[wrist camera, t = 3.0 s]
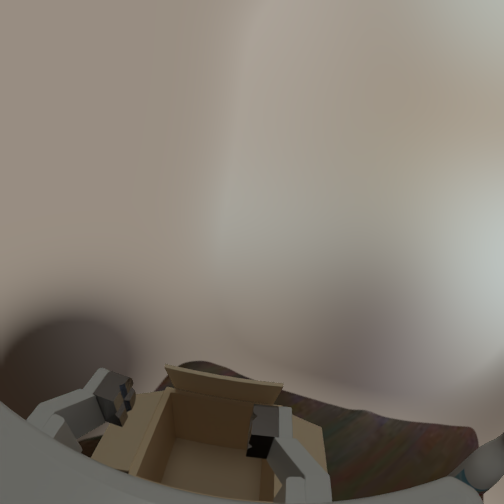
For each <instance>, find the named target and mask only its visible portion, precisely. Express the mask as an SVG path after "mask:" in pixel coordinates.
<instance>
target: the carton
mask: <svg viewBox="0 0 504 504" xmlns="http://www.w3.org/2000/svg"><path fill="white" fill-rule="evenodd" d="M254 404H260V405H270V406H280V407H282V405H271V404H261V403H253V402H245V401H238V400H231V399H225V398H219V397H213V396H208V395H202V394H197V393H192V392H188V391H183V390H179V389H175V388H170V387H166V389H165V391H158V392H151V393H142V394H136V400H135V404H134V406H133V408H132V410H130V411H128V412H127V415H128V418H127V420H126V422H125V424H124V426H123V427H120V426H117V425H114V424H112V423H110V424H109V426H108V428H107V429H106V431H105V433H104V435H103V437H102V438H101V440H100V442H99V444H98V446H97V447H96V449H95V451H94V453H93V455H92V457H91V459H94V460H96V461H98V462H100V463H102V464H105V465H107V466H109V467H112V468H114V469H117V470H119V471H123V472H129V473H128V474H130V475H133V476H135V477H138V478H141V479H144V480H147V481H150V482H154V483H157V484H160V485H164V486H167V487H171V488H175V489H179V490H183V491H187V492H192V493H196V494H201V495H207V496H212V497H218V498H225V499H232V500H240V501H250V502H263V503H273V499H274V497H275V496H276V494H277V493H278V491H279V490H280V488H281V487H282V484H281V482H280V481H279V479H278V478H277V476H276V475H275V473H274V471H273V470H272V468H271V467H270V465H269V463H268V462H267V460H266V459H261V458H253V457H246V448H247V442H248V437H249V436H248V431H249V424H250V418H251V415H252V409H253V405H254ZM292 426H293V438H295V439H297V440H298V441H299V442H300V443H301V444H302V446H303V447H304V448H305V449H306V450H307V451H308V452H309V454H310V455H311V456H312V457H313V458H314V459H315V460H316V461H317V463H318V464H319V465H320V466H321V467H322V468H323V469H324V470H325V471H326V472H327V466H326V457H325V450H324V442H323V434H322V427H319V426H317V425H314V424H312V423H310V422H307V421H305V420H303V419H301V418H298V417H296V416H294V415H292Z"/></svg>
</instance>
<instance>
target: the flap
mask: <svg viewBox="0 0 504 504" xmlns="http://www.w3.org/2000/svg"><path fill="white" fill-rule="evenodd" d="M165 369H166V371H167V373H168V375H169V377H170V379H171V381H172V383H173V385H174V387H175V388H177V389H181V390H186V391H190V392H195V393H200V394H205V395H211V396H216V397H222V398H228V399H235V400H241V401H249V402H257V403H266V404H274V402H275V400H276V399H277V397H278V395H279V393H280V392H281V390H282V388H283V383H274V382H265V381H257V380H249V379H242V378H235V377H228V376H222V375H216V374H211V373H205V372H200V371H195V370H190V369H185V368H181V367H176V366H172V365H168V364H165Z"/></svg>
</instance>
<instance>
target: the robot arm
mask: <svg viewBox="0 0 504 504" xmlns="http://www.w3.org/2000/svg"><path fill="white" fill-rule="evenodd" d="M132 386H133V380H132V379H131V378H129V377H126V376H123V375H120V374H118V373H115V372H112V371H109V370H107V369H104V368H100V369H98V370H97V371H96V373H95V374H94V375H93V377H92V378H91V379H90V381H89V382H88V383H87V384H86V386H85V387H84V388H83V390H82V389H78V390H75V391H73V392H70V393H67V394H65V395H62V396H59V397H56V398H54V399H51V400H48V401H45V402H43V403H40V404H39V405H38V406H37V407H36V409H35V410H34V411H33V413H32V414H31V415H30V416H29V417H28V419H27V420H24V419H23V418H21V417H20V416H19V415H17V414H16V413H15V412H13V411H12V410H11V409H9V408H8V407H7V406H6V405H4V404H3V403H2V402H1V401H0V504H483V501H482V499H481V498H480V496H479V494H478V493H477V491H476V490H475V489H474V488H472V487H471V486H469V485H467V484H466V483H464V482H462V481H460V480H459V479H457V478H454V477H452V476H448V477H444V478H441V479H438V480H435V481H432V482H429V483H426V484H423V485H419V486H416V487H412V488H409V489H405V490H401V491H397V492H392V493H388V494H383V495H378V496H372V497H366V498H360V499H353V500H345V501H335V502H332V495H331V485H330V476H329V475H328V473H327V472H326V471H325V470H324V469H323V468H322V467H321V466H320V465H319V464H318V463H317V461H316V460H315V459H314V458H313V457H312V456H311V455H310V454H309V452H308V451H307V450H306V449H305V448H304V447H303V446H302V444H301V443H300V442H299V441H298V440H297V439H295V438H293V426H292V409H291V407H280V406H270V405H260V404H254V405H253V409H252V415H251V418H250V424H249V431H248V436H249V437H248V442H247V448H246V457H253V458H261V459H266V460H267V462H268V463H269V465H270V467H271V468H272V470H273V471H274V473H275V475H276V476H277V478H278V479H279V481H280V482H281V484H282V487H281V488H280V490H279V491H278V493H277V494H276V496H275V497H274V499H273V503H263V502H250V501H240V500H232V499H225V498H218V497H212V496H207V495H201V494H196V493H192V492H187V491H183V490H179V489H175V488H171V487H167V486H164V485H160V484H157V483H154V482H150V481H147V480H144V479H141V478H138V477H135V476H133V475H130V474H127V473H124V472H122V471H119V470H117V469H114V468H112V467H109V466H107V465H105V464H102V463H100V462H98V461H96V460H94V459H91V458H89V457H87V456H85V455H83V454H81V452H82V448H81V446H80V444H79V443H78V441H77V440H76V439H78V438H80V437H81V436H83V435H85V434H87V433H88V432H90V431H92V430H93V429H95V428H97V427H99V426H100V425H102V424H103V423H105V421H106V422H109V423H112V424H114V425H117V426H120V427H123V426H124V424H125V422H126V420H127V418H128V415H127V412H128V411H130V410H132V408H133V406H134V404H135V400H136V394H135V390H134V389H133V388H132Z"/></svg>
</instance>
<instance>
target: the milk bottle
mask: <svg viewBox="0 0 504 504" xmlns="http://www.w3.org/2000/svg"><path fill="white" fill-rule="evenodd" d="M503 475H504V433H503V434H502V435H500V436H499V437H497V438H496V439H494V440H492V441H490V442H488V443H486V444H484V445H482V446H481V447H479V448H478V449H477V450H475V451H474V452H473V453H472V454H471V455H470V456H469V457H468V458H467V459H465V460H464V461H463V462H462V463H461V464H460V465H459V466H458V467H457V468H456V469H455V470H454V471H452V472H451V473H450V474H449V475H448V476H452V477H454V478H457V479H459V480H460V481H462V482H464V483H466V484H467V485H469V486H471V487H472V488H474V489H475V490H476V491H477V493H478V494H479V496H481V495H483V494H484V493H485V492H486V491H488V490H489V489H490V488H491V487H492V486H493V485H495V484H496V483H497V482H498V481H499V480H500V478H501V477H502V476H503ZM448 476H447V477H448Z"/></svg>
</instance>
